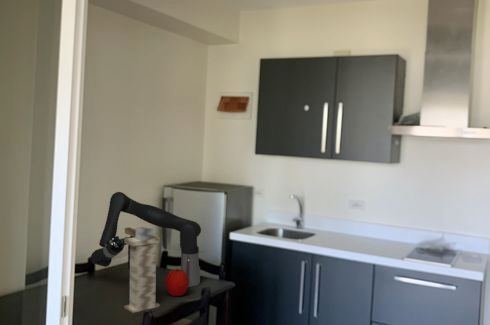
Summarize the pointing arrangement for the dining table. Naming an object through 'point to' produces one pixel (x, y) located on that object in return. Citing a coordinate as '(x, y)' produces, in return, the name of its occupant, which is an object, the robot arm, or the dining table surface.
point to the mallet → (140, 233)
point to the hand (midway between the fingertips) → (126, 236)
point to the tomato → (177, 282)
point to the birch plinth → (142, 274)
